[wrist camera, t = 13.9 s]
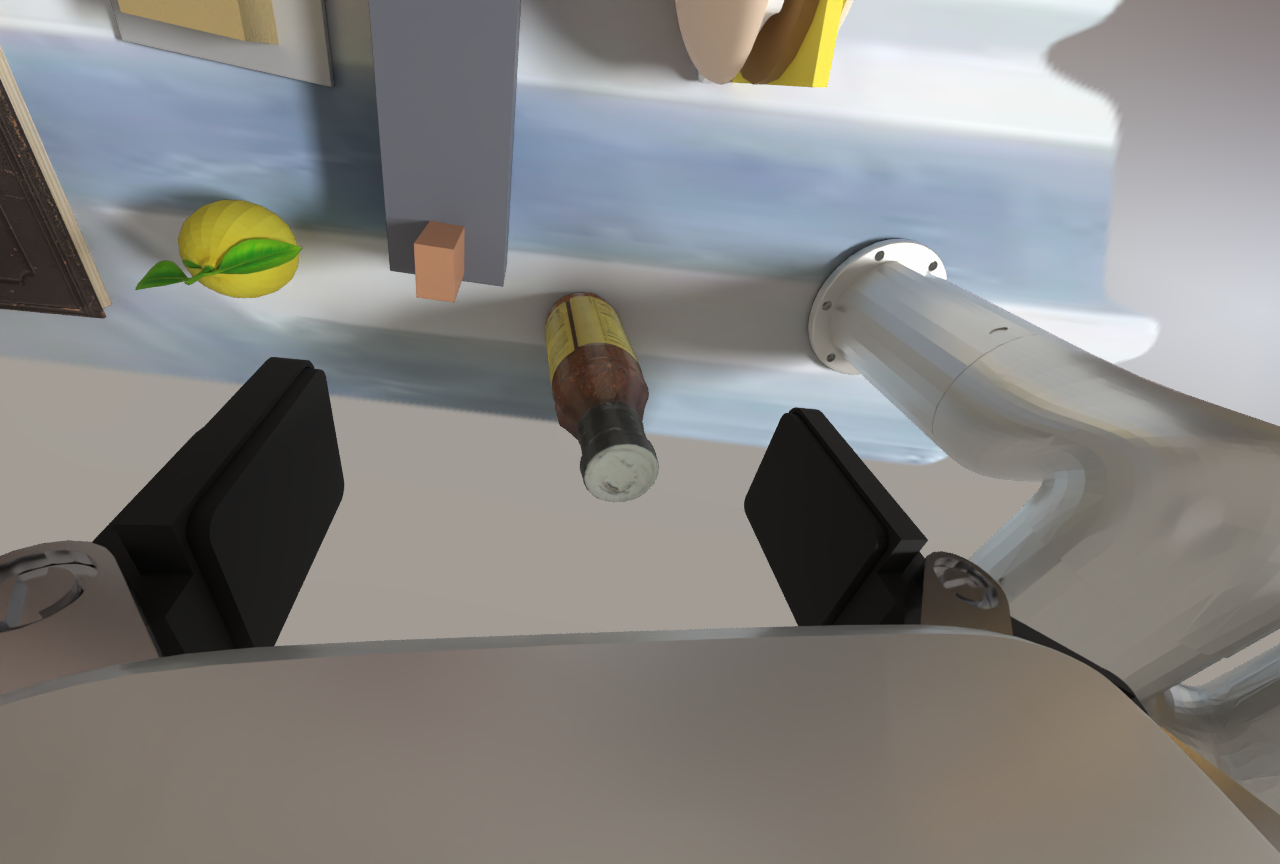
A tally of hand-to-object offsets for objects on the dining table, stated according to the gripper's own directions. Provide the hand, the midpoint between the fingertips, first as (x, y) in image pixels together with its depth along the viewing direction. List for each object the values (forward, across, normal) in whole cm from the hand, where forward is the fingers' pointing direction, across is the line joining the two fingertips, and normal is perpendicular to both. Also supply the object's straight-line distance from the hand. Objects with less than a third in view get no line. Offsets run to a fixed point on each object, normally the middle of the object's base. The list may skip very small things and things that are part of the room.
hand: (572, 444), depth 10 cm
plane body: (+30, +6, -4) cm, 31 cm away
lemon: (+30, +18, +7) cm, 36 cm away
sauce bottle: (+31, -4, +10) cm, 32 cm away
